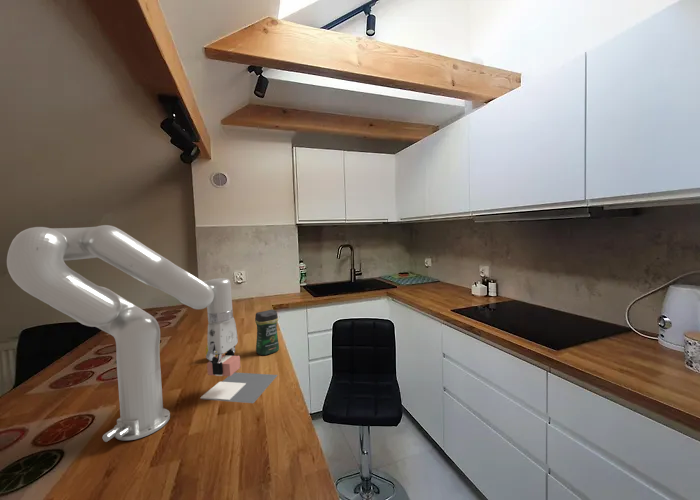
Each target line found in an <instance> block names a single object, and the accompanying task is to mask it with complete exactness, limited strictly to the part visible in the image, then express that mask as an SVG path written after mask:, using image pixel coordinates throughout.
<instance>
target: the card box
mask: <svg viewBox="0 0 700 500" xmlns="http://www.w3.org/2000/svg"><path fill="white" fill-rule="evenodd" d="M216 358H218V356H216ZM221 362H222V367H223V374H222V375H214V374H213V367H212V363H211V362H210V361H209V360H208V362H207V363H206V366H207V367H206V368H207V375H208V376H216V377H228V376H231V375H232V374H233V373H237V371H238V370H239V369H240V368H241V356H240V355H235V356H232V355H225V354H222V356H221Z"/></svg>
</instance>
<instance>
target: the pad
mask: <svg viewBox="0 0 700 500" xmlns="http://www.w3.org/2000/svg"><path fill="white" fill-rule="evenodd" d="M245 384H246V383H235V382H222V381H218V382H217V383H216V384H215V385H214V386H213V387H211V388H210V389H208V390H207V391H206V392H205V393H203V395H201V397H200V399H202V398H204V399H203V400H205V399H217V400H216V401H218V400H230V399H231V398H232V397H233V396H234V395H235V394H236V393H237V392H238V391H239V390H240V389H241V388H242V387H243V386H244V385H245Z"/></svg>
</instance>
